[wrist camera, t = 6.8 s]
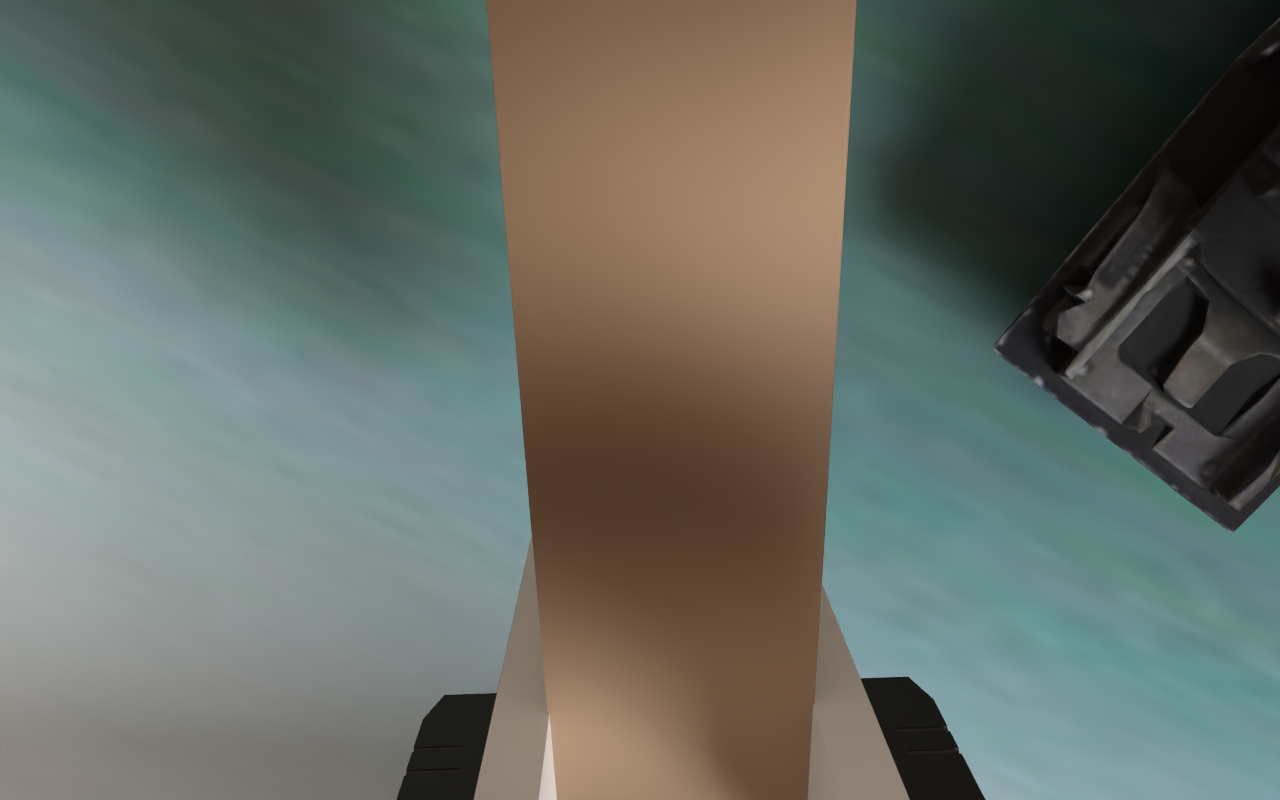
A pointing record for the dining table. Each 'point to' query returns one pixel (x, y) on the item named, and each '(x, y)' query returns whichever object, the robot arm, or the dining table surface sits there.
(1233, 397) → the vintage camera
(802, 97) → the tan long block
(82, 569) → the dining table surface
